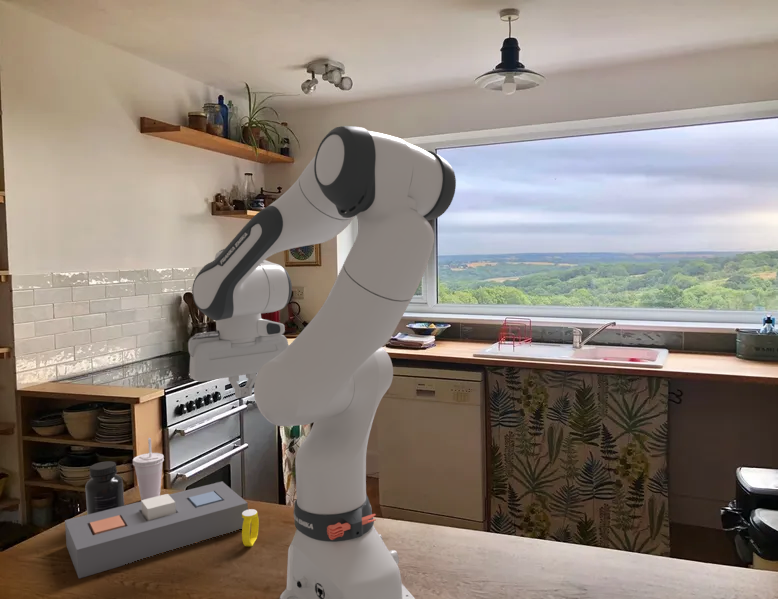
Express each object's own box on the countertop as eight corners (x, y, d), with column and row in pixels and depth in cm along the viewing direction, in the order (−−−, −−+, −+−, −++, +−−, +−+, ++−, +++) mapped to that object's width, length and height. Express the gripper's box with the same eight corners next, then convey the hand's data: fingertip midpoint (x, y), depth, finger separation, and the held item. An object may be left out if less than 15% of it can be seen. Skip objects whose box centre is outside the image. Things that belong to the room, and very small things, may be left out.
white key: (169, 515, 118) (167, 493, 118) (176, 524, 114) (175, 502, 114) (142, 522, 115) (141, 500, 115) (149, 532, 111) (147, 509, 111)
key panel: (223, 503, 129) (222, 481, 129) (248, 527, 118) (247, 502, 117) (66, 546, 112) (64, 520, 111) (78, 578, 100) (76, 549, 100)
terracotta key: (120, 537, 113) (119, 515, 113) (126, 548, 109) (125, 524, 108) (91, 545, 110) (89, 522, 110) (96, 556, 106) (94, 532, 106)
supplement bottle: (87, 520, 123) (83, 463, 122) (123, 512, 126) (120, 456, 125) (88, 533, 117) (84, 473, 116) (126, 525, 120) (123, 467, 119)
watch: (254, 551, 109) (251, 521, 108) (239, 551, 109) (236, 521, 108) (263, 533, 115) (261, 504, 114) (248, 533, 115) (246, 504, 114)
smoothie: (155, 507, 128) (151, 443, 127) (128, 505, 129) (124, 442, 128) (171, 495, 134) (168, 434, 133) (146, 493, 136) (142, 433, 134)
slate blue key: (214, 512, 123) (213, 491, 123) (223, 520, 119) (222, 499, 119) (189, 518, 120) (188, 497, 120) (197, 527, 116) (196, 505, 116)
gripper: (192, 335, 111) (198, 408, 112) (291, 324, 124) (295, 390, 124) (182, 333, 117) (187, 403, 117) (278, 322, 129) (281, 386, 129)
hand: (243, 396), depth 121 cm, fingers closed
